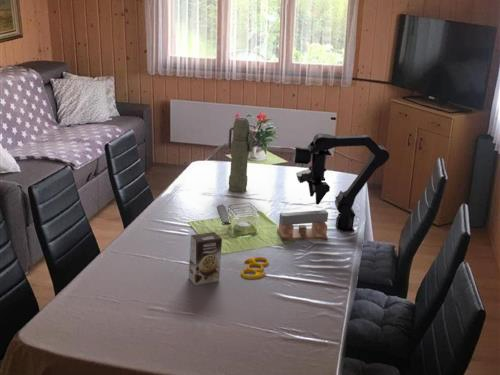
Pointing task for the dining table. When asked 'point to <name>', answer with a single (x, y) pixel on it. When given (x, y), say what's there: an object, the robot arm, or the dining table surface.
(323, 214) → the grey long bar
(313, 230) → the display stand
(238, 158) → the thermos
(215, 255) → the brown food box
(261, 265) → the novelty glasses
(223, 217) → the gray half cylinder
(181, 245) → the dining table surface
